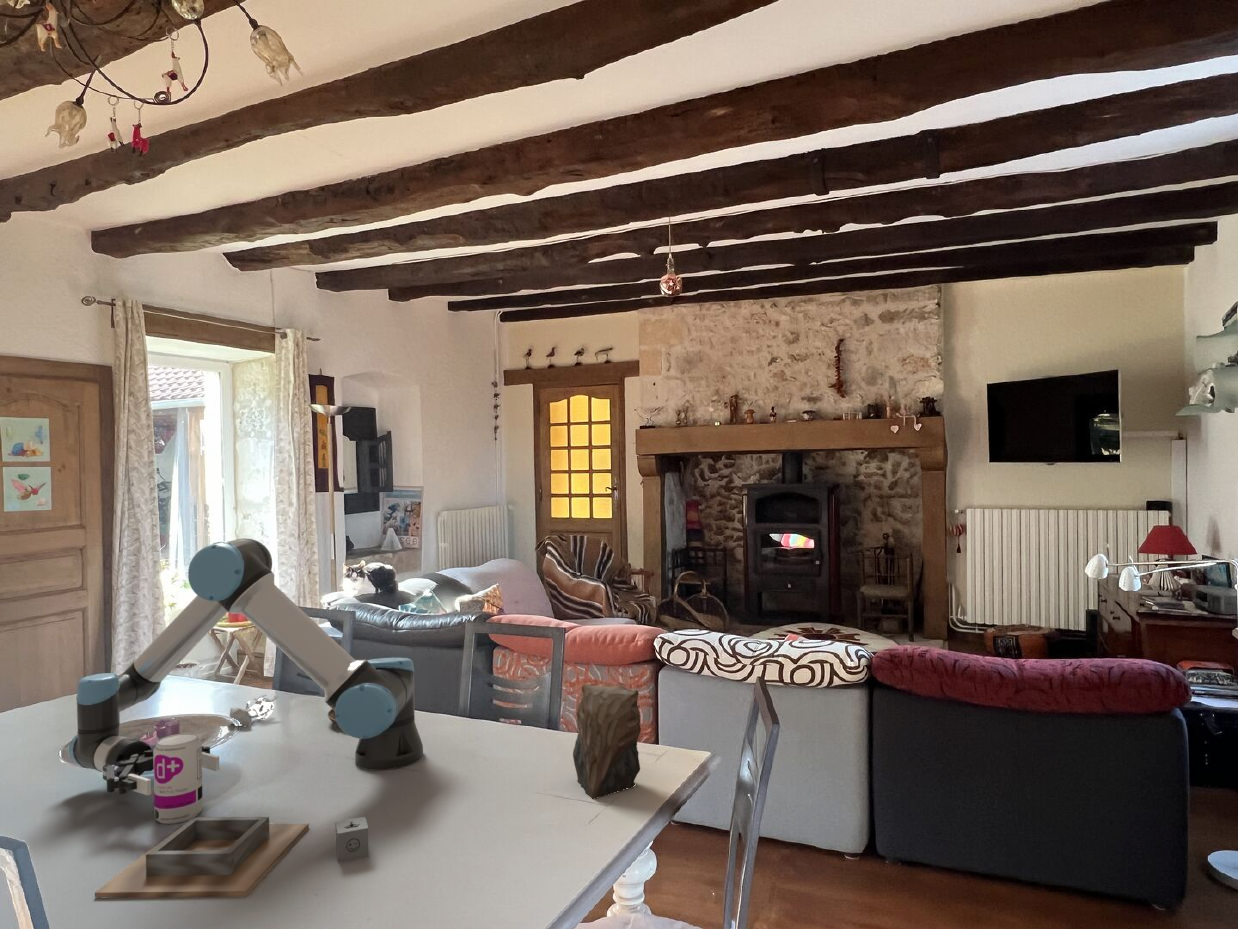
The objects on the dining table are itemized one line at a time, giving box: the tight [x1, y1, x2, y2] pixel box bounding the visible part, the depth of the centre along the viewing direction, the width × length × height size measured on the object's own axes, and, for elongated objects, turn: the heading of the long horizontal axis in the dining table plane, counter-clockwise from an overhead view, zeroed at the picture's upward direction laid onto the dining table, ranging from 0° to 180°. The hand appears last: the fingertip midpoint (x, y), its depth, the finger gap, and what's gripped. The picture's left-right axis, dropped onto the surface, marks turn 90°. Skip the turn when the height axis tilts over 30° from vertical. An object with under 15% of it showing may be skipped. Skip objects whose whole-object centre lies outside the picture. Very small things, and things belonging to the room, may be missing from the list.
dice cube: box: [334, 816, 370, 864], centre depth 139 cm, size 5×5×5 cm
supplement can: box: [152, 732, 204, 825], centre depth 156 cm, size 8×8×15 cm
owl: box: [572, 683, 642, 800], centre depth 167 cm, size 13×13×20 cm
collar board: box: [94, 816, 310, 899], centre depth 137 cm, size 24×24×5 cm
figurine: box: [229, 694, 278, 727], centre depth 216 cm, size 9×6×12 cm
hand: (184, 775), depth 154 cm, fingers open, 13 cm apart
